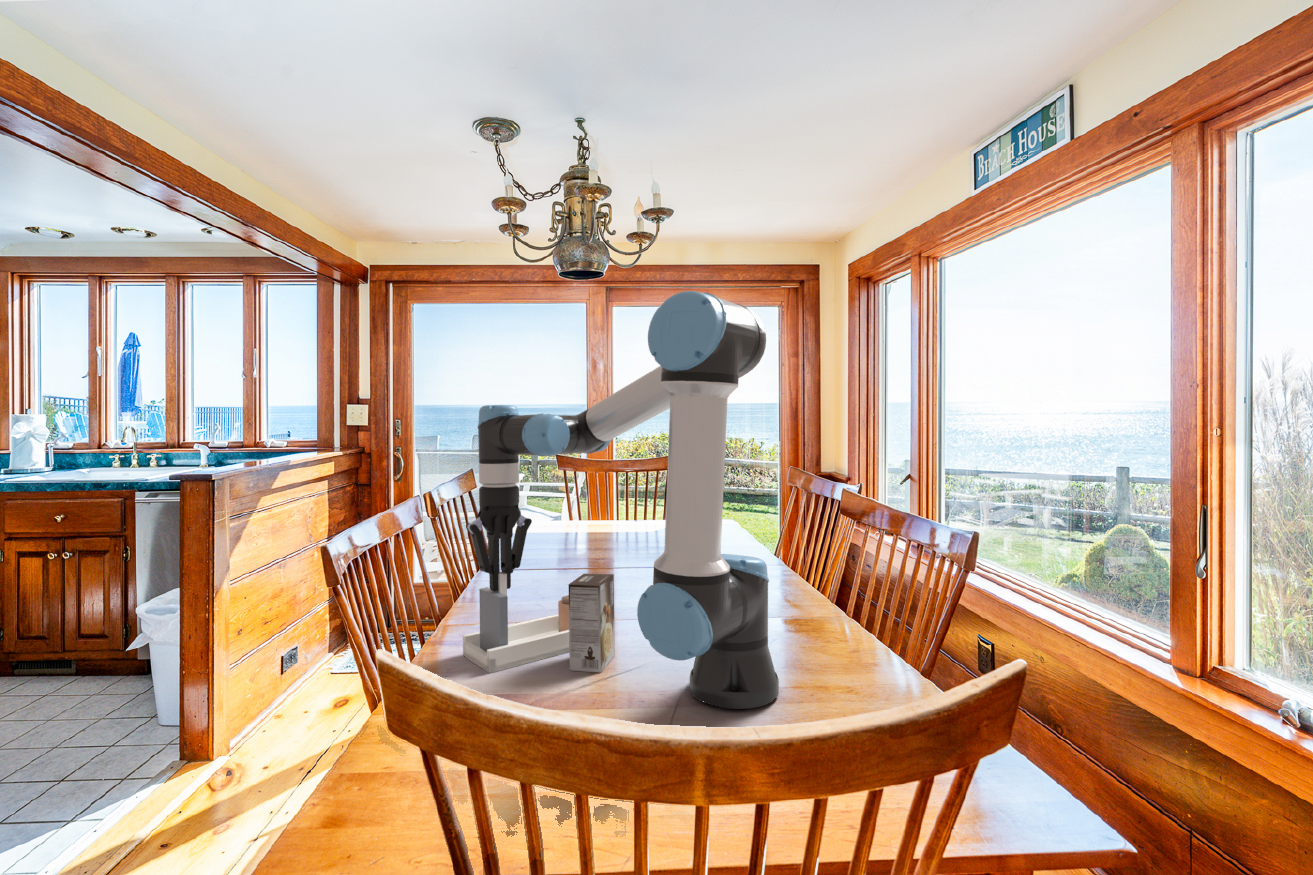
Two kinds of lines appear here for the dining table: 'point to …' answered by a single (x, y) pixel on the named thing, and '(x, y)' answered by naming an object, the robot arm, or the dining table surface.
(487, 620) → the block
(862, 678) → the dining table surface
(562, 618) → the jar
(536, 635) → the white rectangular tray
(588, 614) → the coffee box
